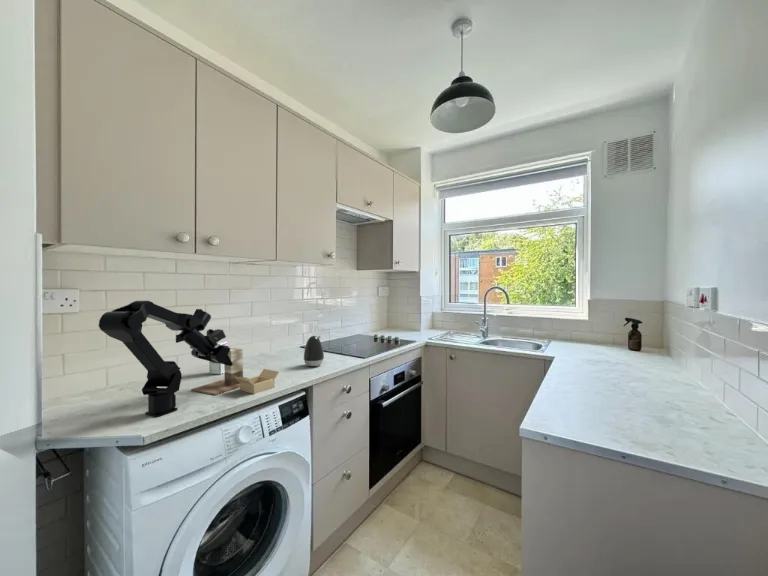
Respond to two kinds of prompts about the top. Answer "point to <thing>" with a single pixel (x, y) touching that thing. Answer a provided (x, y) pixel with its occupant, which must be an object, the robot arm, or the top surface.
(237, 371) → the tall box
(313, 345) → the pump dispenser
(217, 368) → the syrup box
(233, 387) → the walnut board
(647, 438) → the top surface
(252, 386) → the carton
